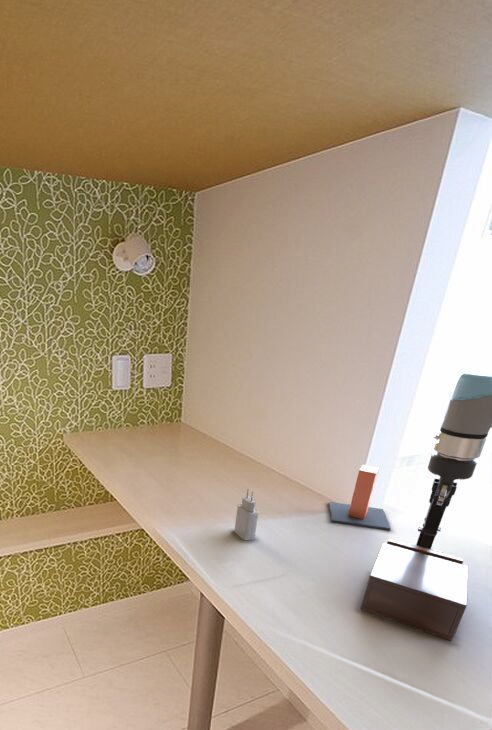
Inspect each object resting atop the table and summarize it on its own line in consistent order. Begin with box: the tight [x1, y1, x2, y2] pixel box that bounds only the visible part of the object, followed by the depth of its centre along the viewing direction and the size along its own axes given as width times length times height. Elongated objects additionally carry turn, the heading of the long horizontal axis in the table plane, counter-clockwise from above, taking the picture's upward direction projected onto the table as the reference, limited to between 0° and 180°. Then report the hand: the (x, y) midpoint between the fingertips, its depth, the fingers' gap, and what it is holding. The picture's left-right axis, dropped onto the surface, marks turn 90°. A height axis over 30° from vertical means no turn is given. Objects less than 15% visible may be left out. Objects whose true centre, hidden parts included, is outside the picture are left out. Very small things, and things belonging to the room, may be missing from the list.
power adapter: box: [234, 488, 259, 541], centre depth 105 cm, size 3×5×12 cm, turn 20°
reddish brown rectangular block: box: [348, 464, 380, 519], centre depth 114 cm, size 5×4×13 cm
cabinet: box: [360, 542, 469, 642], centre depth 82 cm, size 15×15×8 cm
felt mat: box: [328, 501, 392, 531], centre depth 117 cm, size 14×12×1 cm
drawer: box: [386, 538, 464, 565], centre depth 87 cm, size 18×13×6 cm
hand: (419, 557), depth 95 cm, fingers closed
